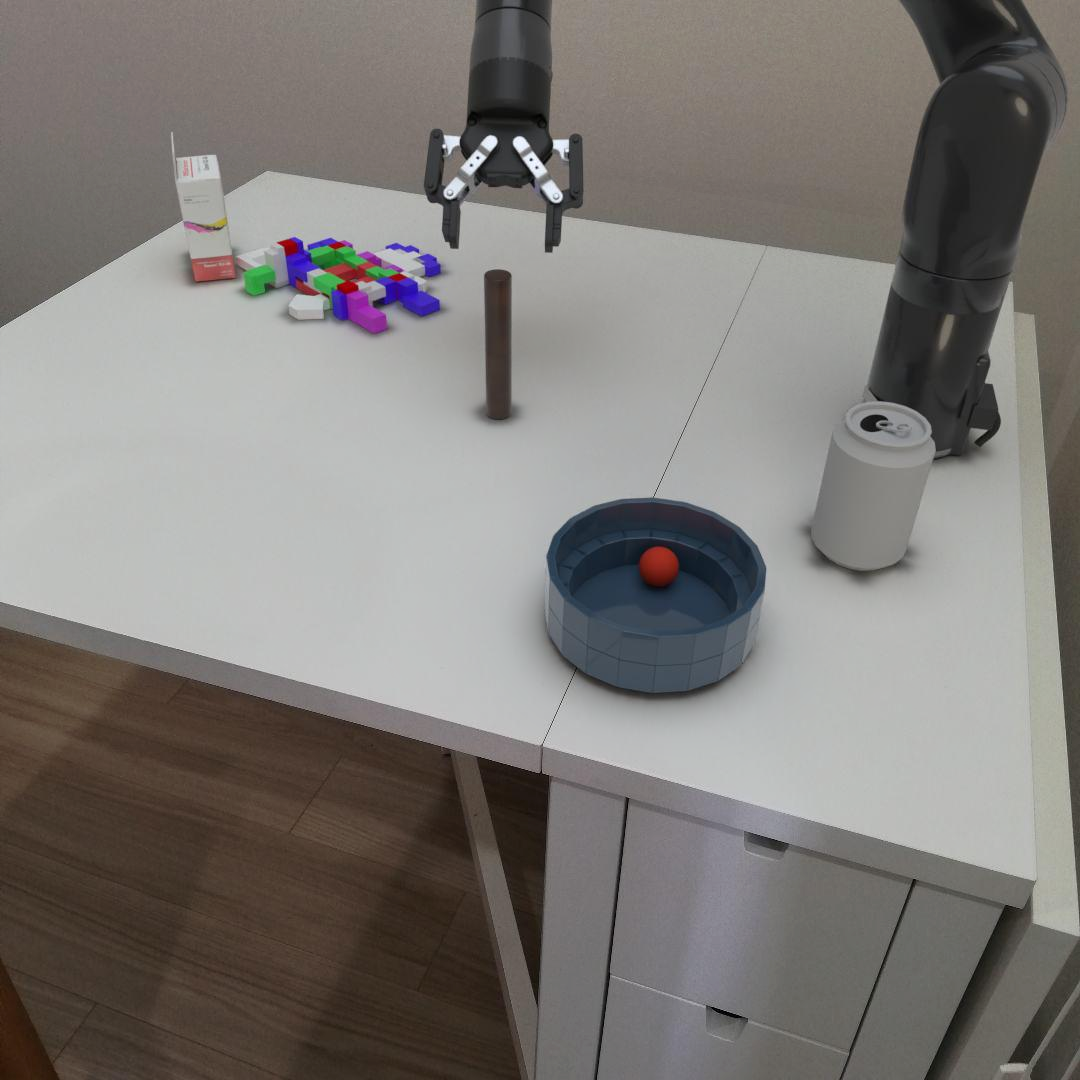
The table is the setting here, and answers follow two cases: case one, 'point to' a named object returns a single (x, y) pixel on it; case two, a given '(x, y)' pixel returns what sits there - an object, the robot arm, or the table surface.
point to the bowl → (653, 595)
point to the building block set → (343, 279)
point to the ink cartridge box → (204, 216)
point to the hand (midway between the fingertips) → (501, 247)
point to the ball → (658, 566)
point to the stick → (498, 342)
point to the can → (872, 485)
